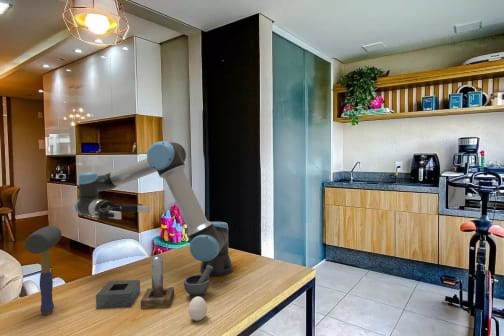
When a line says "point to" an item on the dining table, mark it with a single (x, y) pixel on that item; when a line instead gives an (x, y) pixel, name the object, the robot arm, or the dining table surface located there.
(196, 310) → the egg
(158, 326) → the dining table surface
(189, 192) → the robot arm
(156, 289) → the brushed metal peg
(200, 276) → the mortar and pestle
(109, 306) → the socket
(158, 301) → the wooden square tray
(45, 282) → the rubber mallet
